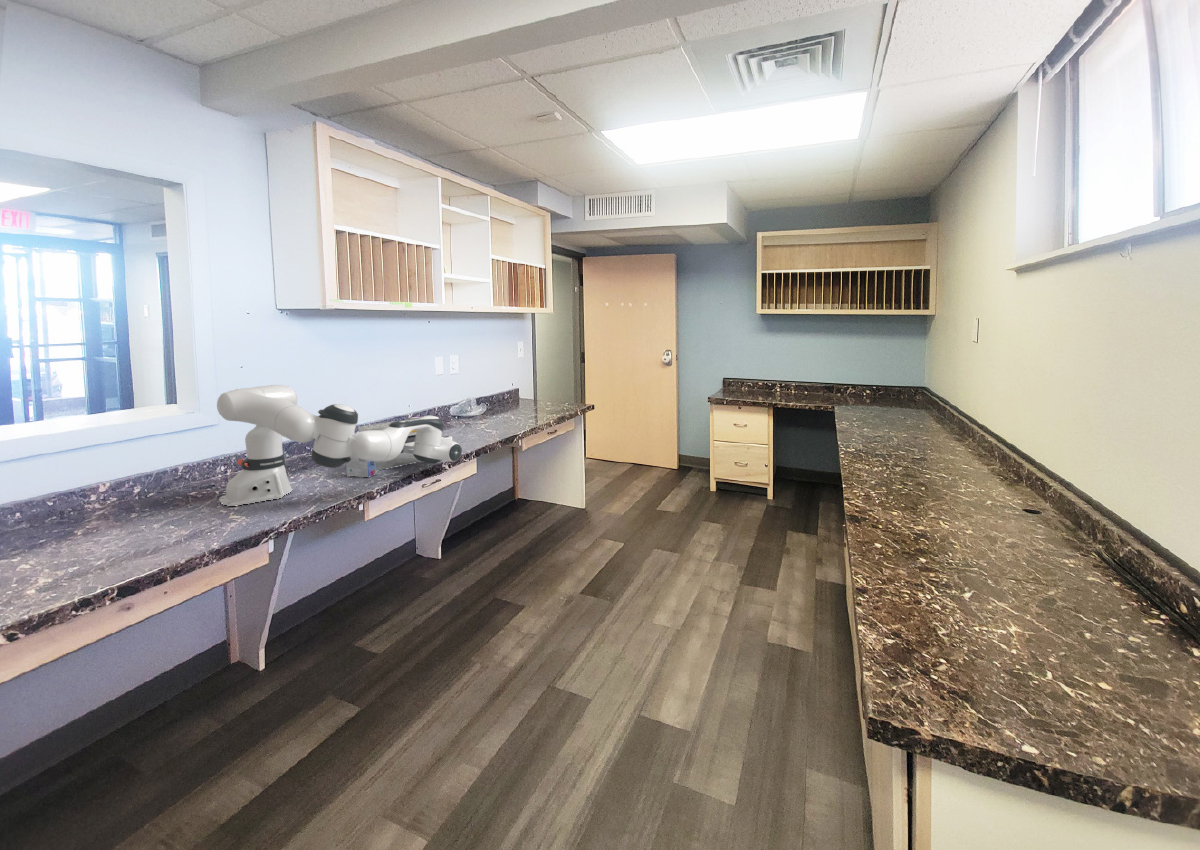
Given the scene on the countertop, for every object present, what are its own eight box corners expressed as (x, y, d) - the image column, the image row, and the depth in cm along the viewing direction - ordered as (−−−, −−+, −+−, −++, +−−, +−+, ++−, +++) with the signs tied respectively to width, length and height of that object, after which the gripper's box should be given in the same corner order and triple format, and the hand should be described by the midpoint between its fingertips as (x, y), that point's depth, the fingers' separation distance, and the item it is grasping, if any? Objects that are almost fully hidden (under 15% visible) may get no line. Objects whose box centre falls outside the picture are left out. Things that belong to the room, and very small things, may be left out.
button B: (406, 450, 243) (406, 438, 242) (401, 448, 247) (400, 437, 246) (427, 446, 251) (427, 434, 250) (421, 444, 254) (421, 433, 253)
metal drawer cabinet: (372, 472, 233) (368, 429, 229) (362, 468, 239) (358, 426, 235) (437, 458, 254) (434, 419, 251) (426, 455, 261) (423, 416, 257)
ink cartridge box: (377, 474, 230) (374, 439, 227) (369, 478, 225) (365, 442, 222) (355, 473, 232) (351, 438, 229) (346, 477, 227) (343, 441, 224)
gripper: (412, 459, 230) (395, 453, 240) (456, 450, 245) (438, 445, 254) (411, 443, 229) (394, 439, 239) (455, 435, 244) (437, 431, 253)
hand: (417, 442), depth 247 cm, fingers closed
